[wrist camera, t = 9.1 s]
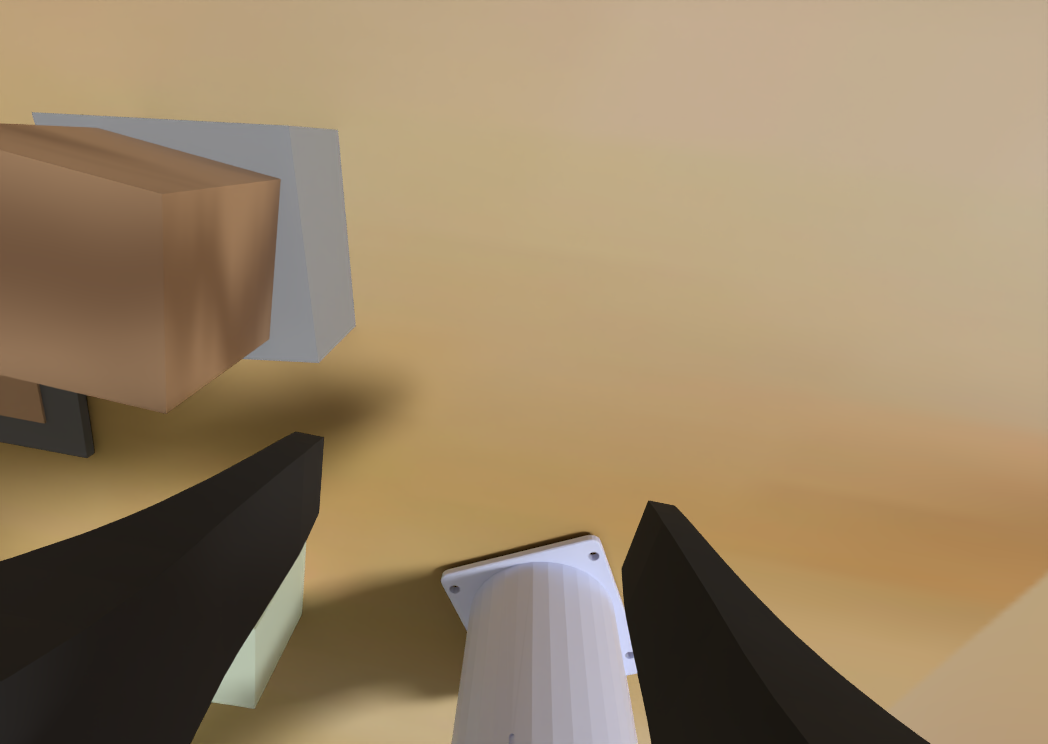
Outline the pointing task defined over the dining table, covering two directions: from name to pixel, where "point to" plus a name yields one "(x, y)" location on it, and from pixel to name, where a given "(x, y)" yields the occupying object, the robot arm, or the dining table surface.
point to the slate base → (303, 218)
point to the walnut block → (129, 264)
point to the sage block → (265, 643)
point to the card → (44, 418)
